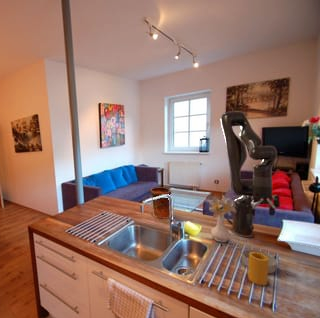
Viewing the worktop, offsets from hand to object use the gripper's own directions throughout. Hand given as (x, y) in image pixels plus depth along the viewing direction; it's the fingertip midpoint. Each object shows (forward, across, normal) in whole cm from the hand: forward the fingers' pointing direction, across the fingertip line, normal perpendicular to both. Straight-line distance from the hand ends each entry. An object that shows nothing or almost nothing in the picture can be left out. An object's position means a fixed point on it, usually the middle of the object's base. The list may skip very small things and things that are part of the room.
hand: (262, 215), depth 104 cm
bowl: (+18, +11, +15) cm, 26 cm away
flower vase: (+17, +17, -6) cm, 25 cm away
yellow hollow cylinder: (+19, +18, +25) cm, 36 cm away
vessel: (+15, +42, -40) cm, 60 cm away
